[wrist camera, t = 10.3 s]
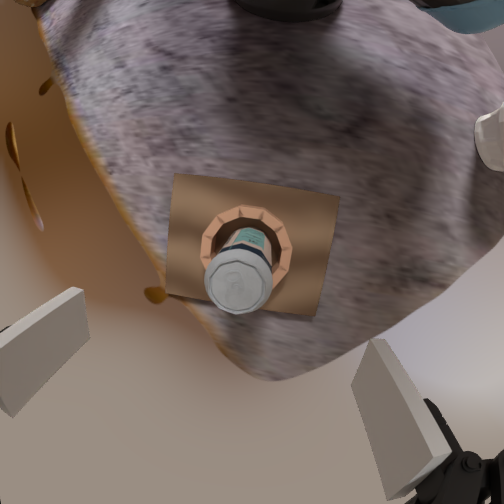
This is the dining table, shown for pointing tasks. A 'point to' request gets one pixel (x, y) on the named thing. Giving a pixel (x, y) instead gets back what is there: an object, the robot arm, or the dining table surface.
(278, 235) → the ring
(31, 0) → the bread
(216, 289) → the lidded canister
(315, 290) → the board
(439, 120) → the dining table surface
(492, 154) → the cup
